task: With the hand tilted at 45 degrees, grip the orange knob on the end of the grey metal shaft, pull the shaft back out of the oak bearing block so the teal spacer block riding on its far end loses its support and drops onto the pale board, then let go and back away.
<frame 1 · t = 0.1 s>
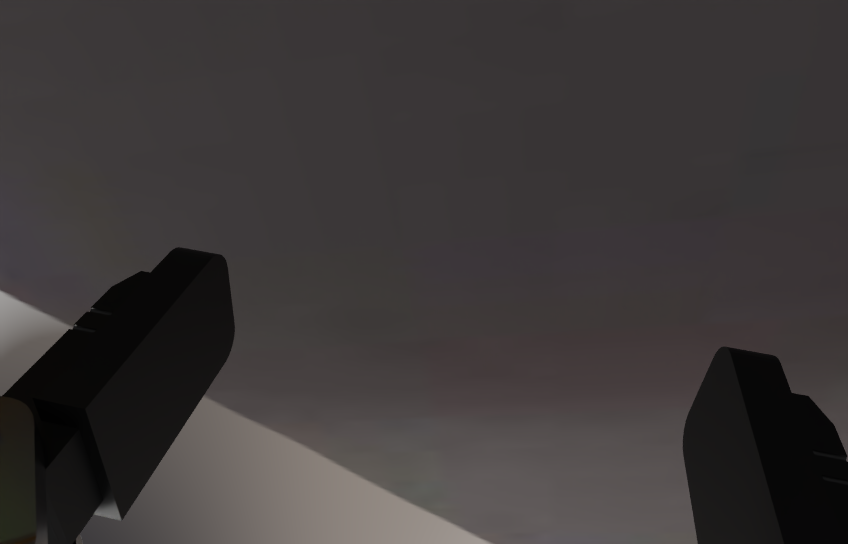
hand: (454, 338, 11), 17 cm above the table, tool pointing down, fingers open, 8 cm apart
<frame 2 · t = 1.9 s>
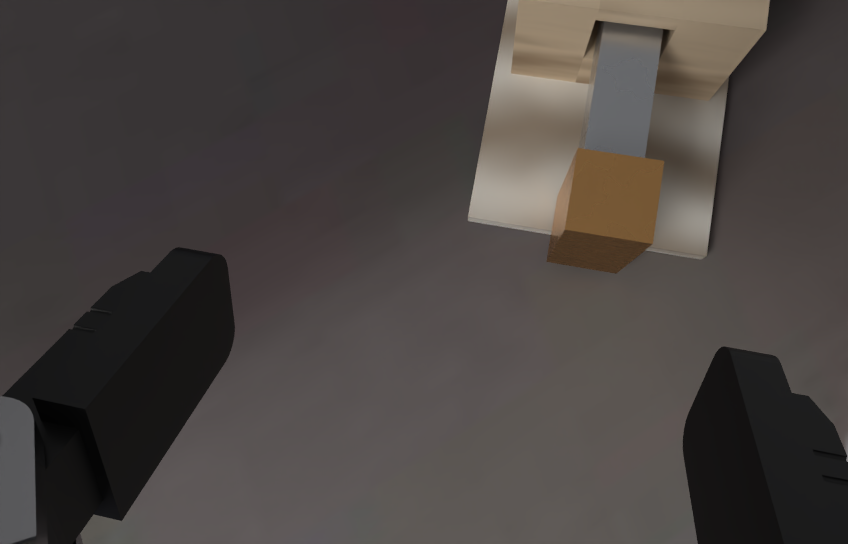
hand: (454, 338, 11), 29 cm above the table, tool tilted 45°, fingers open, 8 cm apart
shaft: (624, 49, 36), point 5 cm above the table, slide at 0.0 cm, touching spacer
bearing block: (612, 42, 42), resting on base board
base board: (612, 42, 42), on the table
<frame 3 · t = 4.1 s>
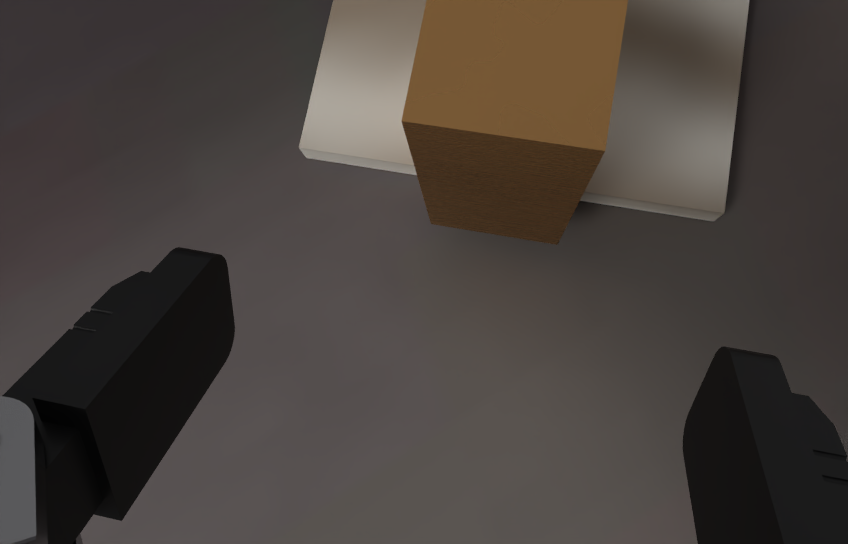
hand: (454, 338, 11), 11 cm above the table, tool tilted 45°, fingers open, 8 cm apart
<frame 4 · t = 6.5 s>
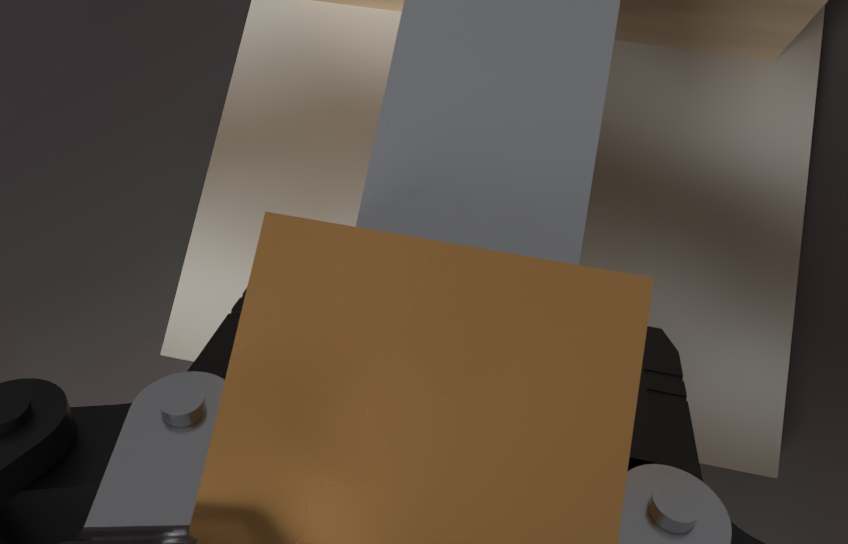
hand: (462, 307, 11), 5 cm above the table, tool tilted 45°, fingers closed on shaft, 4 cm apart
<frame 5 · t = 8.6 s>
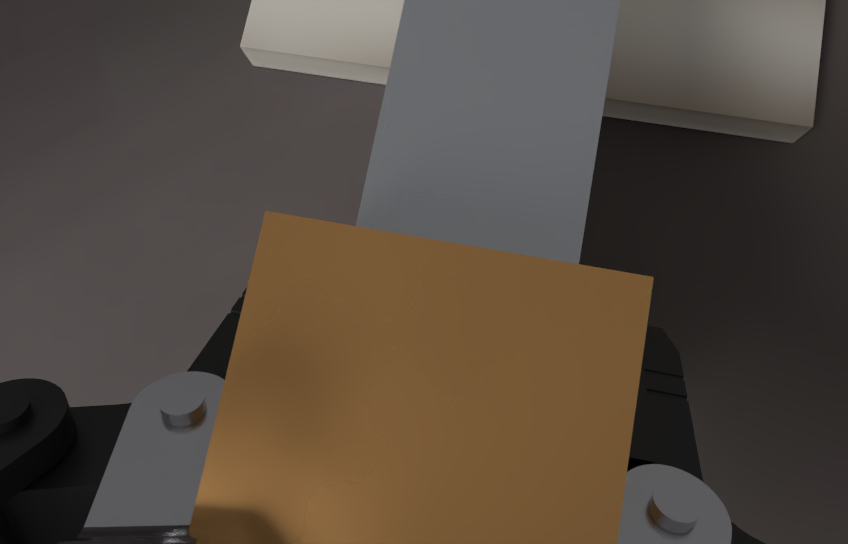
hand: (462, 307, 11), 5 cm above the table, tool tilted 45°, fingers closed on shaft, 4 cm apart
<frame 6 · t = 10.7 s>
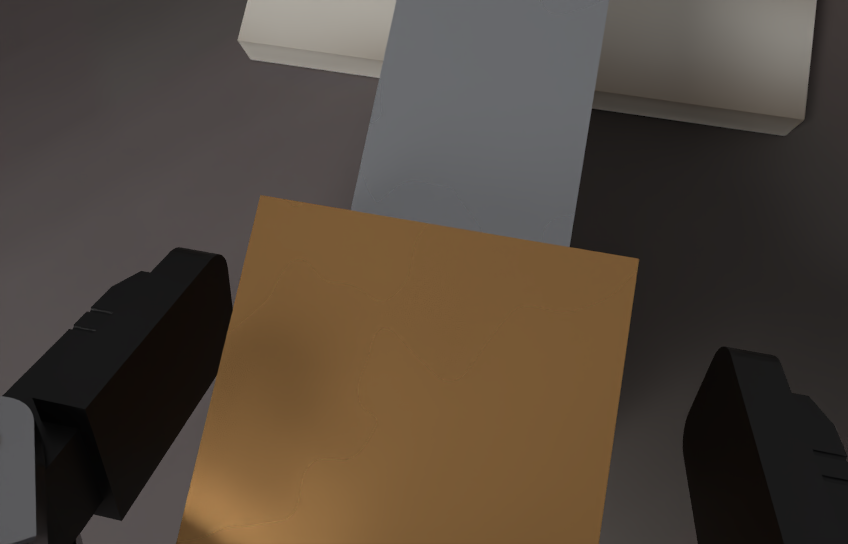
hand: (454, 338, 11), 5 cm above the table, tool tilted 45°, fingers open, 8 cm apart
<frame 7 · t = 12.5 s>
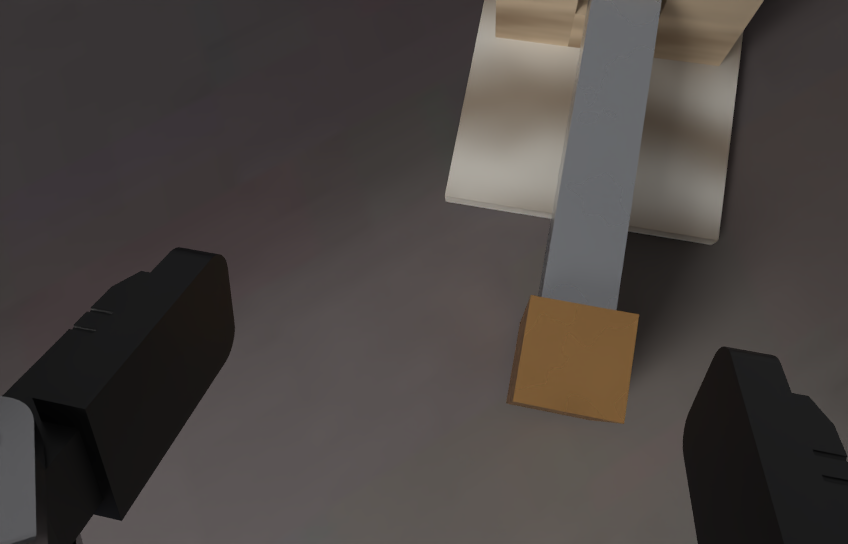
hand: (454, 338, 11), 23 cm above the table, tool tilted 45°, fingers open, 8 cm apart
shaft: (596, 157, 30), point 5 cm above the table, slide at 8.0 cm
bearing block: (610, 5, 37), resting on base board
base board: (610, 5, 37), on the table
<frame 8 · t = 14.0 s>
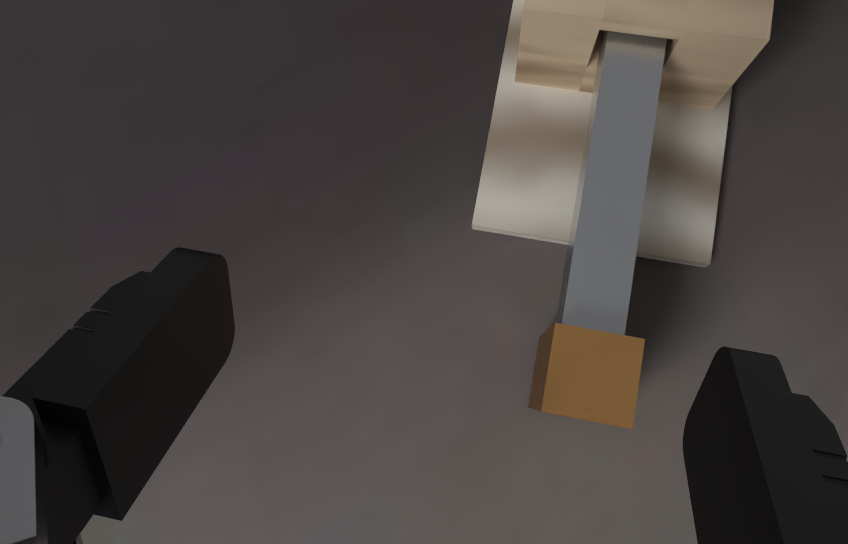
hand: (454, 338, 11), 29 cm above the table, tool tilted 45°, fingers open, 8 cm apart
shaft: (606, 197, 35), point 6 cm above the table, slide at 8.0 cm
bearing block: (616, 51, 42), resting on base board
base board: (616, 51, 42), on the table
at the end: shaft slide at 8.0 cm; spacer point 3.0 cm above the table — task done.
